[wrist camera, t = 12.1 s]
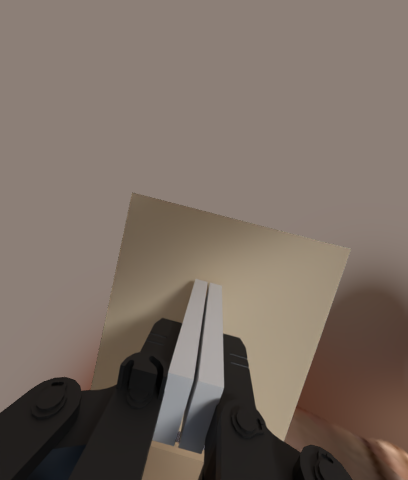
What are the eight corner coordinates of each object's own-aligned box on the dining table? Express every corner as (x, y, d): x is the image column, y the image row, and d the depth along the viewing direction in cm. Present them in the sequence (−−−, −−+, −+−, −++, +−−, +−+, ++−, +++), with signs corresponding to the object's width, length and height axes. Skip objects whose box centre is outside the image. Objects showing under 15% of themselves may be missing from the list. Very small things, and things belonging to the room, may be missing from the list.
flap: (277, 460, 14) (273, 445, 14) (350, 249, 12) (341, 246, 13) (87, 404, 14) (95, 392, 15) (132, 192, 12) (137, 194, 13)
